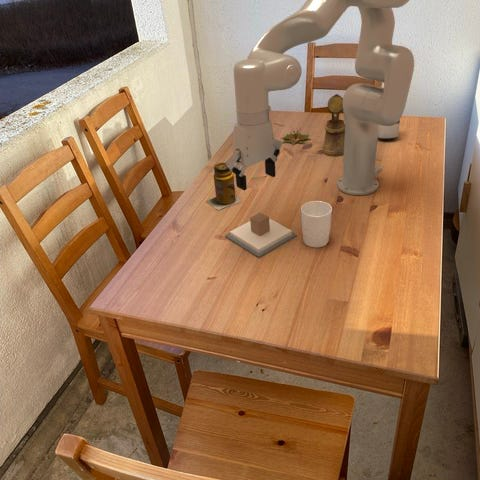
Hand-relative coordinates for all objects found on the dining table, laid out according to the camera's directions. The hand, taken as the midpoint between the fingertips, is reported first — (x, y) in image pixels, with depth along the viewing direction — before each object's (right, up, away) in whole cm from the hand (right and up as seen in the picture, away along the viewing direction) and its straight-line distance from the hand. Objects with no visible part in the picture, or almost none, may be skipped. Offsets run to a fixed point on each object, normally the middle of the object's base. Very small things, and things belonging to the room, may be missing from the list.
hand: (256, 181), depth 120 cm
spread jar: (+49, +24, +59) cm, 80 cm away
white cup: (+16, -15, +6) cm, 23 cm away
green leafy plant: (+17, +24, +63) cm, 70 cm away
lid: (+1, -13, +9) cm, 16 cm away
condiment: (-9, -3, +28) cm, 29 cm away
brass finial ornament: (+31, +19, +53) cm, 64 cm away
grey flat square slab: (+2, -14, +10) cm, 17 cm away
